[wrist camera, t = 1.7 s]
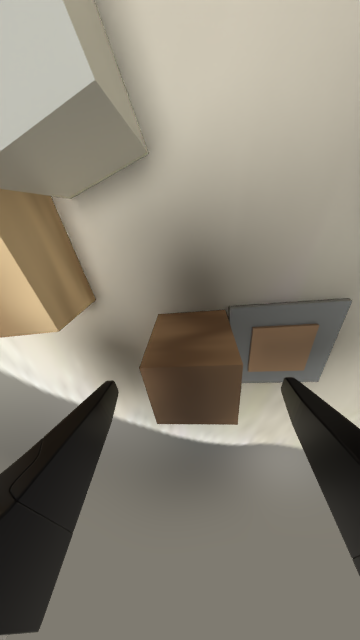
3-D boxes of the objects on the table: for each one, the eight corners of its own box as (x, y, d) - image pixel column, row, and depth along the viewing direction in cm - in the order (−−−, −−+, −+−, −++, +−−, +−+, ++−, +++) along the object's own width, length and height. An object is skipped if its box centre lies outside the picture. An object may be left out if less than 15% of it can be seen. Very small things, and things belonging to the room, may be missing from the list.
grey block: (88, -15, 6) (-206, -660, 2) (148, 153, 8) (95, 80, 4) (-2, 70, 7) (-324, -168, 3) (71, 198, 9) (-42, 182, 5)
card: (348, 298, 10) (355, 301, 10) (315, 378, 14) (319, 383, 14) (229, 306, 11) (230, 310, 11) (226, 380, 15) (227, 385, 14)
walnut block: (225, 309, 12) (243, 364, 7) (224, 359, 14) (237, 424, 10) (158, 313, 12) (139, 367, 8) (168, 361, 14) (157, 423, 10)
